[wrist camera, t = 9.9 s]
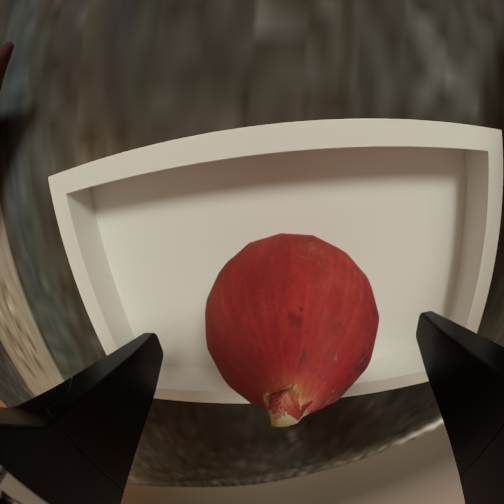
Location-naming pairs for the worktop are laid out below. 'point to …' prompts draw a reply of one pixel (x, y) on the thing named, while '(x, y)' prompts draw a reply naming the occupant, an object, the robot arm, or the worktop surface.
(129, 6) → the worktop surface
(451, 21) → the worktop surface
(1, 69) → the dark red toy figure
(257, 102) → the worktop surface
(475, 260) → the tray
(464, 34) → the worktop surface
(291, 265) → the onion
